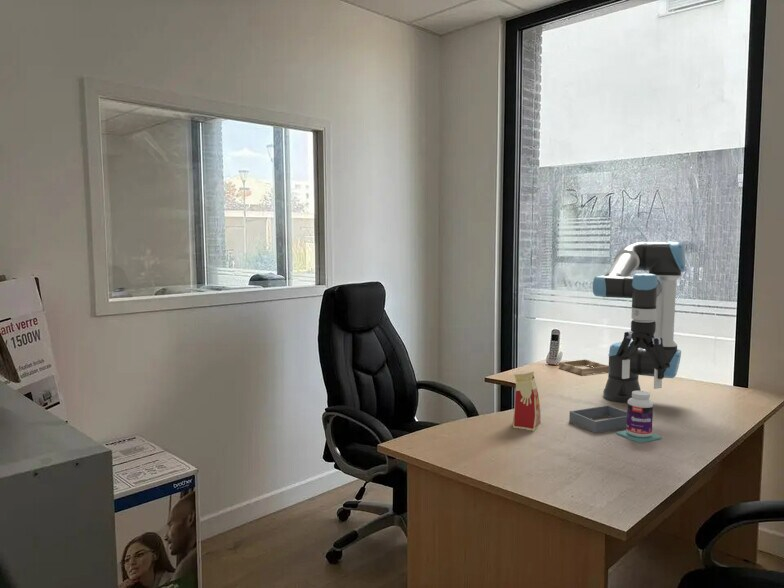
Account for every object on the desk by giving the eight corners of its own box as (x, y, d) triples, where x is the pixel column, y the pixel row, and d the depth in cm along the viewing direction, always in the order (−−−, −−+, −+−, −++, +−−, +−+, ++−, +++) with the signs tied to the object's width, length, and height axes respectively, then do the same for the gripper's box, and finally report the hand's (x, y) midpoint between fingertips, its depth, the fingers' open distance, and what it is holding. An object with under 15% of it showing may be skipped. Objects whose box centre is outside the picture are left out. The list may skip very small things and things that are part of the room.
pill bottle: (628, 437, 195) (630, 395, 194) (624, 429, 203) (625, 389, 201) (654, 439, 193) (656, 396, 192) (649, 431, 201) (650, 390, 200)
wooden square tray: (559, 368, 297) (559, 362, 297) (585, 365, 304) (585, 359, 304) (582, 375, 282) (582, 369, 281) (609, 372, 289) (609, 366, 288)
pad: (616, 433, 201) (616, 432, 201) (638, 429, 205) (638, 427, 205) (639, 443, 192) (639, 441, 192) (661, 438, 196) (661, 436, 196)
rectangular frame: (569, 422, 213) (569, 411, 213) (607, 415, 221) (608, 405, 220) (595, 433, 201) (595, 421, 201) (635, 425, 209) (635, 414, 208)
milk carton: (540, 423, 212) (541, 369, 210) (535, 431, 204) (536, 374, 202) (515, 420, 216) (516, 366, 214) (509, 427, 207) (510, 372, 205)
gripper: (606, 316, 204) (605, 375, 206) (666, 327, 181) (663, 394, 184) (623, 314, 207) (621, 373, 209) (683, 325, 184) (680, 391, 187)
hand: (641, 383), depth 197 cm, fingers open, 13 cm apart
